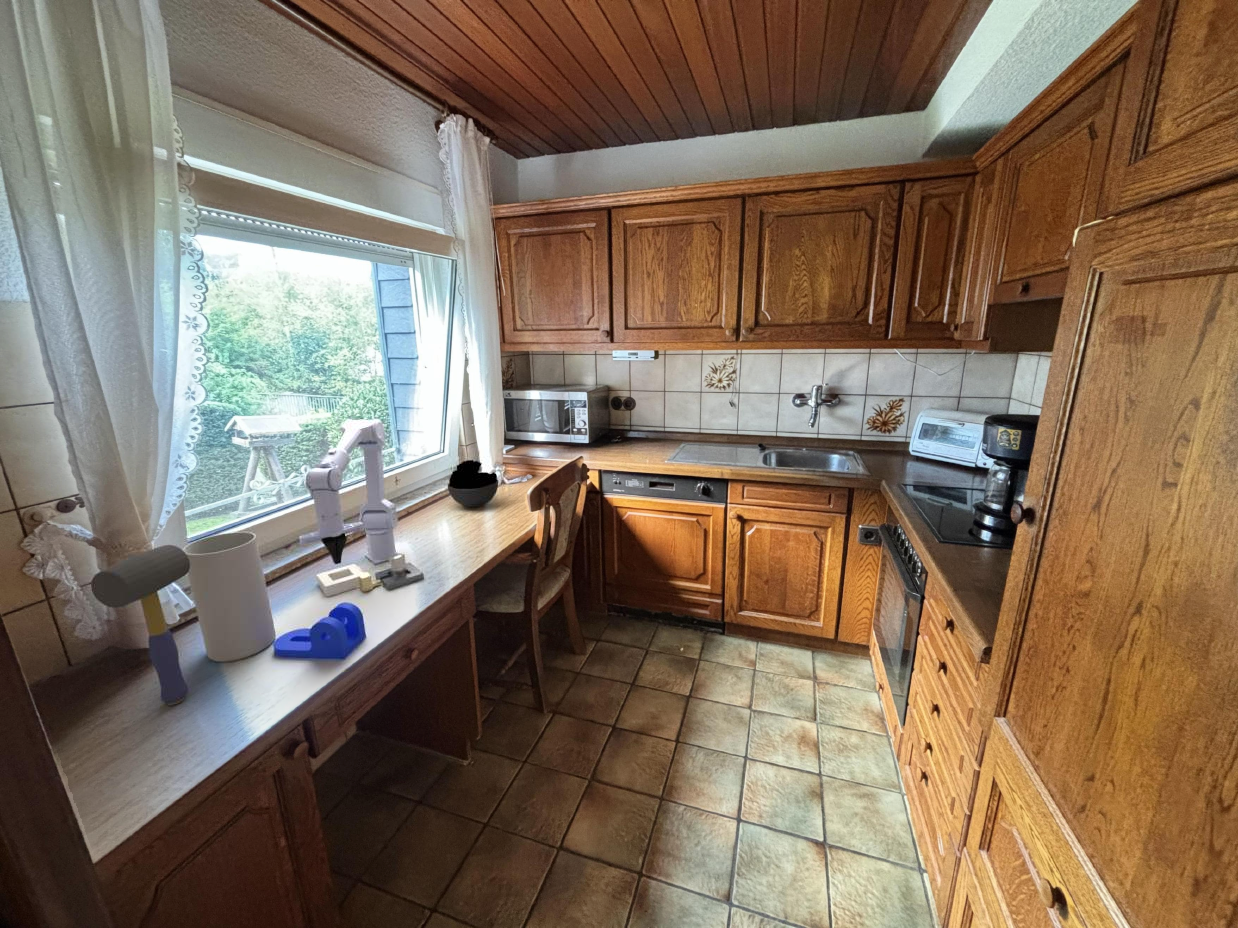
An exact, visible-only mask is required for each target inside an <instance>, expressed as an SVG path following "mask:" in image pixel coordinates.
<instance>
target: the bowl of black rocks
mask: <svg viewBox="0 0 1238 928" xmlns="http://www.w3.org/2000/svg"><path fill="white" fill-rule="evenodd" d="M482 464H483V463H482V462H480V461H478V460H473V459H472V460H471V459H467V460H463V461H462V462H461V463H459V464H457V465H456V469H455V470H453V471H452V472H451V475H450V477H449V479H448V481H449V483H448V484H447V490H448V493H449V495H450V496H451V498H452V499H453V500H454V501H455V502H456V503H457V504H459V505H461V506H463V507H467V508H478V507H481V506H485V505H486V504H488V503H489V502H490V501H492V499H493V498H494V497H495V496H496V493H497V492H498V489H499V480H498V475H497V474H496V472H491V473H489V472H487V471H486V472H483V471H482V472H479V471H480V467H481V466H482Z"/></svg>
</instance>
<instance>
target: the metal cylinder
mask: <svg viewBox="0 0 1238 928" xmlns="http://www.w3.org/2000/svg"><path fill="white" fill-rule="evenodd" d="M389 559H390V560H389V564H390V565H389V566H390V568H391V574H392V578H393V579H394V578H397V577H400V576H404V575H407V570H406V563H407V562H406V556H405V554H404V553H403V552H401V553H399V552H397V554H393V555H391V556H390V557H389Z"/></svg>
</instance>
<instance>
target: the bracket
mask: <svg viewBox="0 0 1238 928" xmlns="http://www.w3.org/2000/svg"><path fill="white" fill-rule="evenodd" d="M363 615H364V614H363V612H362V610H361V609H360V608H359V607H358V606H357V605H356V604H354V603H351V602H346V601H345V602H341V603H338V605H336V606H335V607H334V608H333V609H332V610H330V611H329V613H328V616H327V617H323V618H320V619H319V620H318V621H317V622H316V623H314V624H313V625H312V626H311V627H309V628H305V627H304V628H297V629H295V630H292V631H288V632H286V633H283V634H282V635H280V636H278V637H277V638H276V639H274V641H273V642H272V643H273V644H272V645H273V650H274V651H273V652H274V654H275V656H276V657H278V658H282V659H283V658H286V659H288V658H290V659H311V660H312V659H314V660H315V659H316V660H318V659H319V660H342V661H344V660H346V659H347V658H348V657H349V656H350V655H351V654H352V653H353V652H354V651H355V650H356V649H357V648H358V647H359V646H360V645H361V643H363V641H364V640H365V639H367V633H366V625H365V621H364V616H363Z"/></svg>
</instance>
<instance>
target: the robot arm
mask: <svg viewBox="0 0 1238 928" xmlns="http://www.w3.org/2000/svg"><path fill="white" fill-rule="evenodd" d="M341 433H342V436H341V438H340V440H339V441H338V444H337V445H336V447H335V448H332V449H329V450H328V451H327V453H326V454H325V455H324V457H323V458H322V460H321V461H320V463H318V465H317V467H316V468H312V469H311V470H308V472H307V473H306V476H305V483H304V484H305V487H306V489H307V490H308V491H309V493H310V498H311V499H313V502H314V509H315V514H316V520H317V527H318V530H315V531H311V532H309V533H306V534H302V535H300V536H298V538H299V544H300V545H301V546H305V545H307V544H311V543H314V542H319V541H321V542H322V544H323V546H325V548H326V549H327V551H328V553H329V555H330V558H331V559H332V562H333V564H334V565H339V564H342V555H343V552H344V551H343V550H344V548H345V545H346V543H347V539H348V537H347V535H348V534H350V533H355V532H363V531H364V532H365V534H366V535H365V540H366V546H367V553H365V555H364V557H366V558H367V559H369V560H370V561H371V562H372V563H373V564H374V565H376V564H380V563H384V562H388V561H390V559H389V557H390V556H391V555H393V554H397V553H398V551H397V549H396V544H395V542H396V541H395V535H394V530H395V529H396V528H397V525H398V523H399V516H398V512H397V508H396V505H395V503H393V502H391V501H390V500H387V499H386V491H385V490H386V489H385V478H384V466H383V465H384V464H383V450H382V447H384V446H385V445H386V429H385V425H384V423H383V422H382V421H381V420H380V419H379V418H378V419H376V418H375V419H359V420H356V419H355V420H354V419H353V420H352V419H346V420H345V421H344V423H343V424H342V427H341ZM356 447H359V448H360V449H361V450H362V451H363V461H364V470H365V471H364V472H365V487H366V498H367V499H366V501H367V502H365V503H364V504H363V505H362V506H361V507H360V508H359V519H358V522H352V523H346V524H345V523H344V515H343V509H342V502H341V498H340V491H339V489H340V488H341V487H342V484H343V477H344V472H345V470H346V469H347V467H348V465H349V464H350V462H351V457H350V454H351V453H352V452H353V451H354V449H355V448H356Z"/></svg>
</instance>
